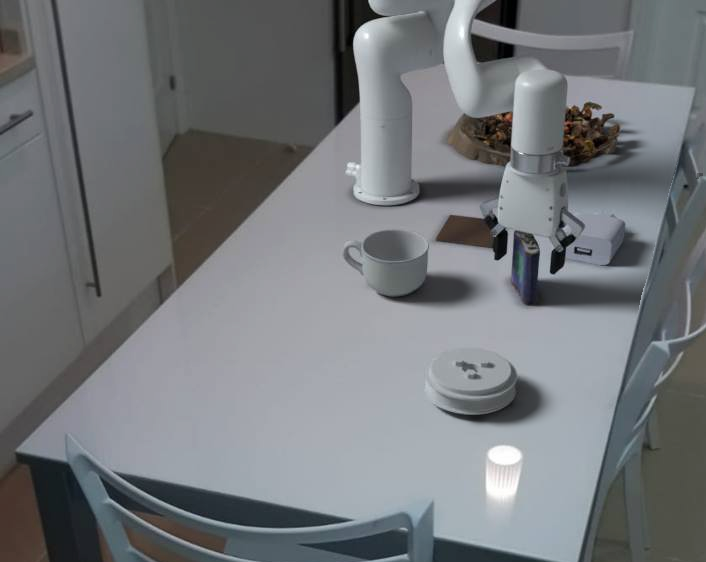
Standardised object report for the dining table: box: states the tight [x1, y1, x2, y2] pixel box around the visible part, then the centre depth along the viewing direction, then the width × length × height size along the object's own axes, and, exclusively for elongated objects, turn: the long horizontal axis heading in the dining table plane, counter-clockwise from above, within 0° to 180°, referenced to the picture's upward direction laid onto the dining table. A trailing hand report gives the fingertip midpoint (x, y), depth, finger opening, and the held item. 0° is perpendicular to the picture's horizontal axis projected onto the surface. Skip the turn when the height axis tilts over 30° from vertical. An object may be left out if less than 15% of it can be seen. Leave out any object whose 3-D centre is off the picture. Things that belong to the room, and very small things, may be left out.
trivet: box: [435, 214, 494, 249], centre depth 193 cm, size 10×10×1 cm
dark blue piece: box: [510, 230, 541, 307], centre depth 172 cm, size 9×3×11 cm, turn 8°
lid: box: [423, 347, 518, 416], centre depth 151 cm, size 13×13×5 cm
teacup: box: [341, 228, 430, 298], centre depth 175 cm, size 14×11×8 cm
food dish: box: [445, 101, 621, 167], centre depth 225 cm, size 35×33×8 cm
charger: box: [562, 211, 626, 266], centre depth 187 cm, size 5×9×15 cm
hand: (527, 264), depth 172 cm, fingers open, 9 cm apart
